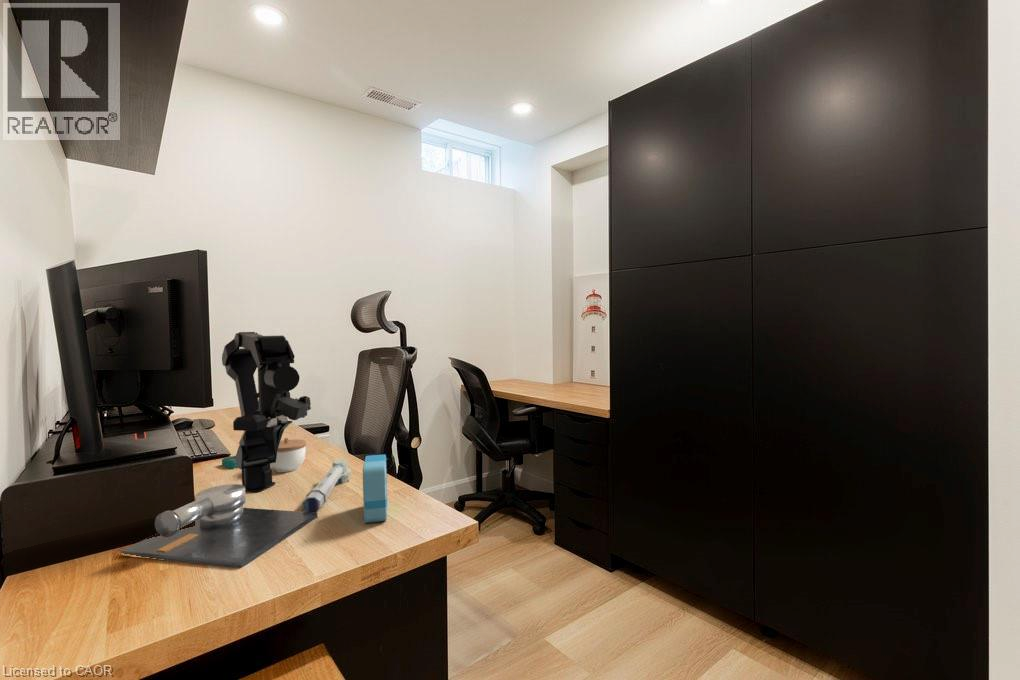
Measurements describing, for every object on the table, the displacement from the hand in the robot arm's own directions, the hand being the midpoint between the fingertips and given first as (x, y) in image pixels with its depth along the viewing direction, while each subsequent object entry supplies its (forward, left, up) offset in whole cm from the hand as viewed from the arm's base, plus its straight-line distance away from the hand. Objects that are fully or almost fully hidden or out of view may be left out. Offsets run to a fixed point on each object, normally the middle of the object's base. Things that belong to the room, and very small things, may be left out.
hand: (274, 452), depth 113 cm
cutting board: (+3, -18, -12) cm, 22 cm away
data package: (+28, -3, -12) cm, 31 cm away
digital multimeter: (-32, +30, -13) cm, 46 cm away
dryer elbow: (-2, -18, -8) cm, 20 cm away
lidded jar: (-15, +24, -12) cm, 31 cm away
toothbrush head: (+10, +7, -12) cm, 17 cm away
